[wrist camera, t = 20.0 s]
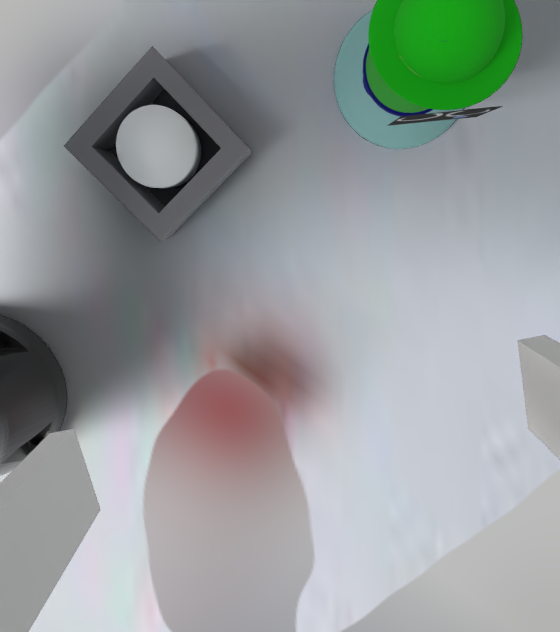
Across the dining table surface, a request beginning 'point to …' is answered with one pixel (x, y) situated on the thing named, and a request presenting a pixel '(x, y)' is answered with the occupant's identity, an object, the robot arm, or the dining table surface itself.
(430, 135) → the pad
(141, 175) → the dome
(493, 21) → the toy
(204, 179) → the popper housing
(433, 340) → the dining table surface
